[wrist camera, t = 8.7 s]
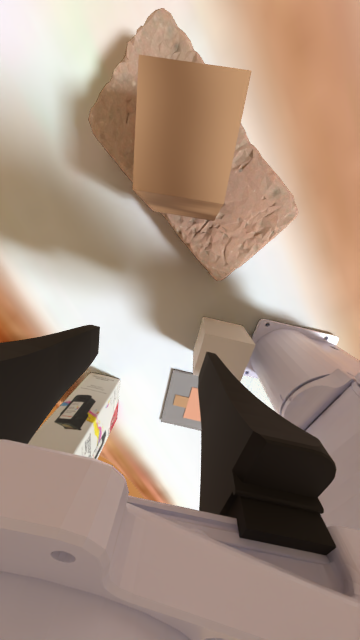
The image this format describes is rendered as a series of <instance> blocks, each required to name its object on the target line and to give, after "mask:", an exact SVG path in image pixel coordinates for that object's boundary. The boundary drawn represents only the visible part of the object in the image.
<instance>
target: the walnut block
mask: <svg viewBox="0 0 360 640" xmlns="http://www.w3.org/2000/svg"><path fill="white" fill-rule="evenodd" d="M250 75H251V71H250V70H243V69H236V68H229V67H222V66H215V65H208V64H201V63H195V62H188V61H181V60H174V59H167V58H160V57H153V56H146V55H139V59H138V80H137V102H136V123H135V144H134V166H133V187H132V190H133V191H134V192H135V193H136V194H137V195H138V196H139V197H140V198H141V199H142V200H143V201H144V202H145V203H146V204H147V205H148V206H149V207H150V209H151V210H152V211H155V212H161V213H168V214H174V215H180V216H186V217H192V218H198V219H205V220H211V221H214V220H215V218H216V216H217V215H218V213H219V211H220V209H221V208H222V206H223V204H224V200H225V195H226V190H227V185H228V180H229V176H230V171H231V166H232V161H233V157H234V152H235V147H236V142H237V137H238V133H239V128H240V123H241V118H242V114H243V109H244V104H245V99H246V94H247V90H248V85H249V80H250Z"/></svg>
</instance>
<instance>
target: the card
mask: <svg viewBox="0 0 360 640" xmlns="http://www.w3.org/2000/svg"><path fill="white" fill-rule="evenodd" d="M161 422H165V423H170V424H174V425H178V426H183V427H187V428H191V429H196V430H200V431H201V417H200V406H199V396H198V376H196V375H193V374H192V373H188V372H183V371H179V370H175V369H173V373H172V377H171V381H170V385H169V389H168V393H167V398H166V402H165V406H164V410H163V414H162V418H161Z"/></svg>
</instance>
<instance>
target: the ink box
mask: <svg viewBox="0 0 360 640" xmlns="http://www.w3.org/2000/svg"><path fill="white" fill-rule="evenodd" d="M119 389H120V379H117V378H113V377H109V376H105V375H101V374H96V373H89V374H88V375H87V377H86V378H85V379H84V380H83V381H82V382H81V383H80V384H79V385H78V386H77V388H76V389H75V390H74V391H73V392H72V393H71V394H70V395H69V396H68V397H67V399H66V400H65V401H64V402H63V403H62V404H61V405H60V406H59V407H58V408H57V410H56V411H55V412H54V413H53V414H52V415H51V416H50V417H49V418H48V419H47V421H46V422H45V423H44V424H43V425H42V426H41V427H40V428H39V429H38V430H37V432H36V433H35V434H34V435H33V437H32V438H31V440H30V441H29V443H28V444H29V445H34V446H38V447H43V448H48V449H52V450H57V451H62V452H66V453H71V454H76V455H80V456H85V457H90V458H95V459H97V458H98V456H99V454H100V452H101V450H102V448H103V446H104V444H105V442H106V440H107V438H108V436H109V434H110V432H111V430H112V428H113V426H114V424H115V422H116V420H117V411H118V400H119Z"/></svg>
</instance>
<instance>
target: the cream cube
mask: <svg viewBox="0 0 360 640" xmlns="http://www.w3.org/2000/svg"><path fill="white" fill-rule="evenodd" d="M255 346H256V345H255V343H254V342H253V340H252V339H251V337H250V336H249V334H248V333H247V331H246V330H245V328H244V327H243V326H242V325H238V324H234V323H229V322H225V321H220V320H216V319H212V318H207V317H203V318H202V321H201V325H200V329H199V332H198V336H197V339H196V343H195V347H194V350H193V375H196V376H199V373H200V370H201V367H202V364H203V361H204V358H205V355H206V351H207V352H211V353H215V354H216V355H217V356H218V357H219V358H220V359H221V361H222V362H223V363H224V364H225V366H226V367H227V368H228V369H229V370H230V372H231V373H232V374H233V375H234V376H235V377H236V378H237V379H238V380H239V381H241V379H242V376H243V374H244V372H245V369H246V367H247V364H248V362H249V360H250V357H251V355H252V353H253V350H254V348H255Z"/></svg>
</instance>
